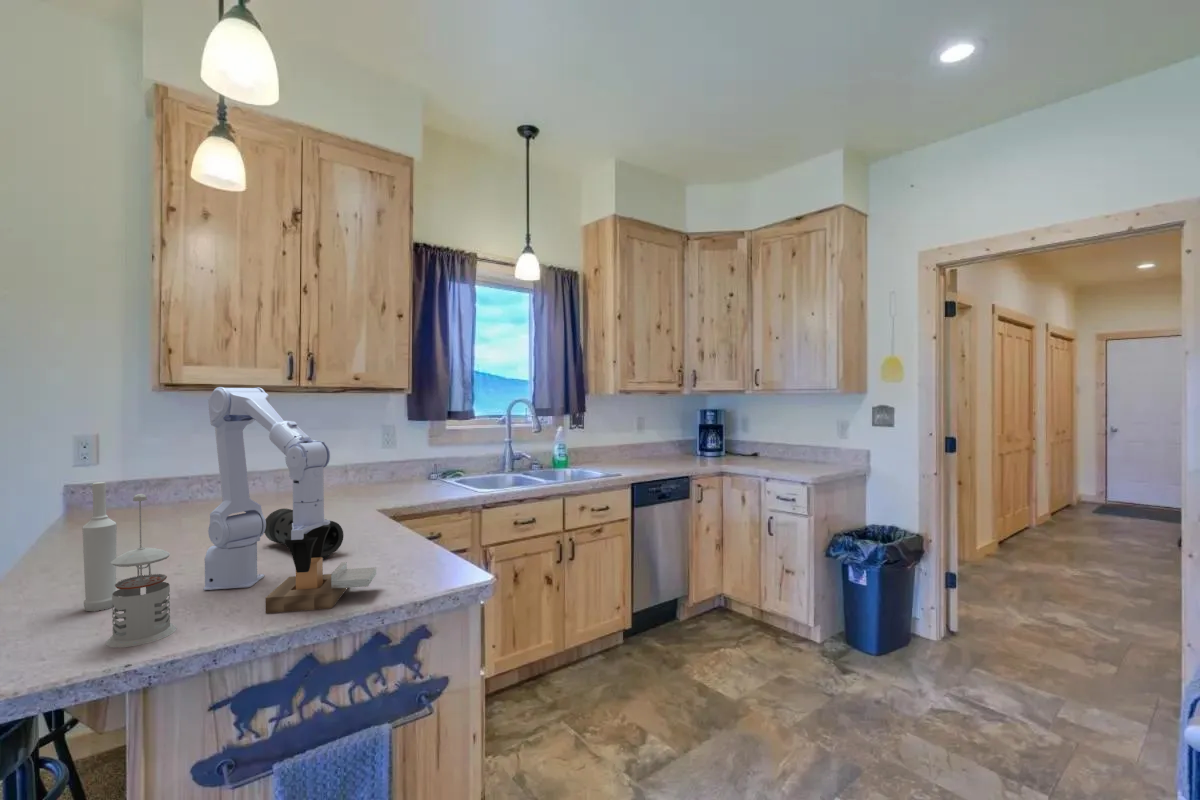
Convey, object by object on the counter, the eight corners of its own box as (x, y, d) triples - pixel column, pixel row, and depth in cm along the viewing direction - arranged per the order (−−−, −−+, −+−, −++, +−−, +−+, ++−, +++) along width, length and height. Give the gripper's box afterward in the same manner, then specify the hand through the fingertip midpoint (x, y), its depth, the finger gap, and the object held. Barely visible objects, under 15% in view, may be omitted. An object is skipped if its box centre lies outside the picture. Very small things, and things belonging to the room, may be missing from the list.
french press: (101, 652, 92) (99, 501, 92) (110, 629, 102) (107, 491, 102) (176, 637, 98) (174, 494, 98) (177, 616, 108) (175, 486, 107)
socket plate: (265, 613, 109) (265, 597, 109) (289, 590, 121) (289, 576, 121) (331, 608, 111) (331, 593, 111) (348, 586, 124) (348, 572, 124)
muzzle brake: (308, 564, 141) (307, 523, 141) (260, 547, 158) (259, 510, 158) (345, 556, 148) (344, 516, 148) (295, 540, 165) (295, 505, 165)
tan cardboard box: (296, 603, 114) (295, 564, 114) (302, 596, 118) (301, 558, 118) (317, 601, 115) (316, 562, 115) (322, 595, 119) (322, 557, 119)
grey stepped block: (331, 588, 113) (331, 573, 113) (341, 576, 121) (341, 562, 121) (368, 586, 115) (368, 571, 115) (376, 574, 122) (376, 560, 122)
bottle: (115, 600, 116) (113, 480, 116) (120, 606, 113) (118, 482, 113) (81, 608, 112) (79, 483, 112) (86, 614, 109) (84, 485, 109)
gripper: (318, 506, 110) (319, 575, 110) (338, 493, 124) (339, 555, 124) (279, 508, 108) (279, 578, 108) (304, 494, 123) (304, 556, 123)
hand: (309, 566), depth 116 cm, fingers open, 7 cm apart
